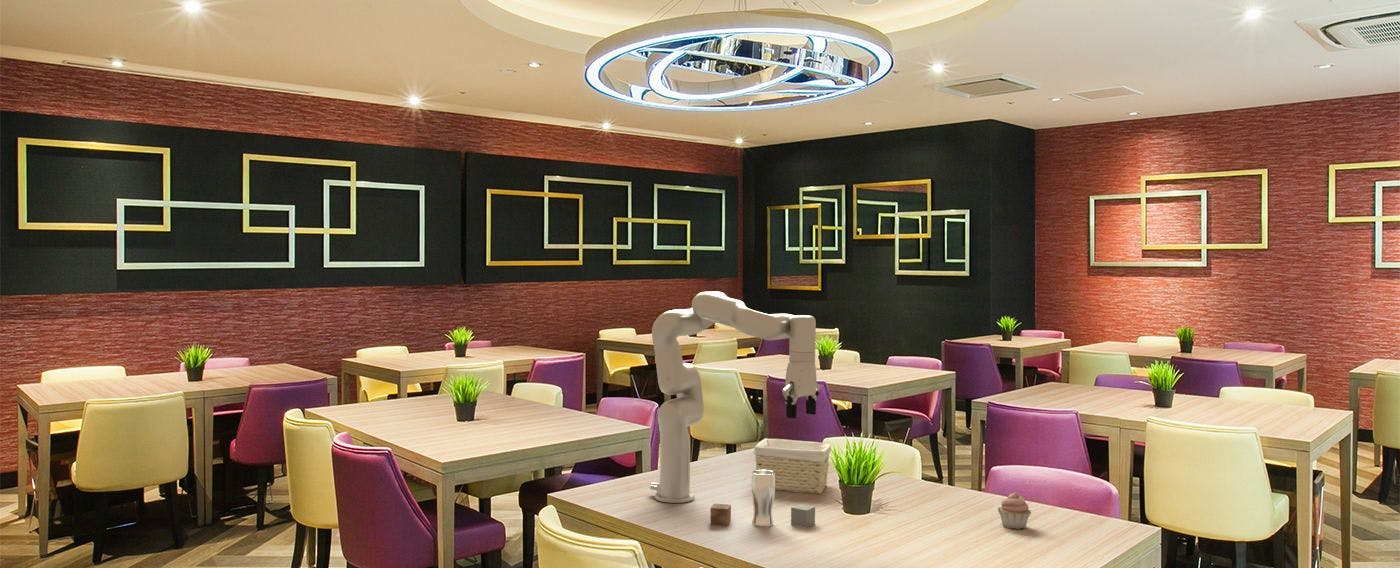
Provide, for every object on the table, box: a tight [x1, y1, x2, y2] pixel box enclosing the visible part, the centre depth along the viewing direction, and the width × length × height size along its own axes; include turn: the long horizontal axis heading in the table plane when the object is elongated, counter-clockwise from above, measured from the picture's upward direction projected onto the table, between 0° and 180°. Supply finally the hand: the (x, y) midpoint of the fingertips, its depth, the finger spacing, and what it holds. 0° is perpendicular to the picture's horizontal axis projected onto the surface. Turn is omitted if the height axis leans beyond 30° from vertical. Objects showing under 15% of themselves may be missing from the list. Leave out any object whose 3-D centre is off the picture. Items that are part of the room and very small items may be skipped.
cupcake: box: [997, 492, 1032, 530], centre depth 263 cm, size 9×9×10 cm
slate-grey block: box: [790, 503, 816, 529], centre depth 263 cm, size 5×5×5 cm
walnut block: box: [709, 503, 732, 527], centre depth 262 cm, size 5×5×5 cm
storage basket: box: [753, 437, 832, 495], centre depth 307 cm, size 24×16×15 cm
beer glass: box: [750, 469, 776, 528], centre depth 262 cm, size 7×7×15 cm
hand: (801, 415), depth 267 cm, fingers open, 9 cm apart
